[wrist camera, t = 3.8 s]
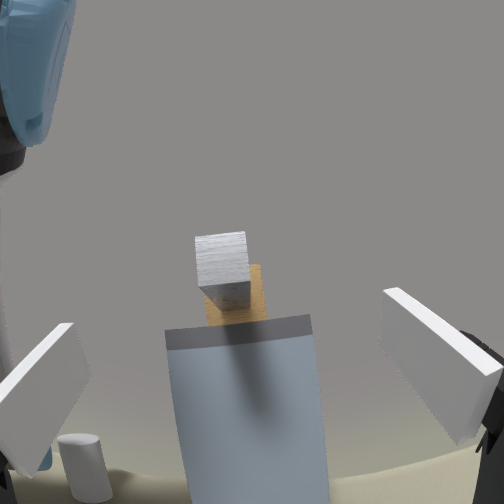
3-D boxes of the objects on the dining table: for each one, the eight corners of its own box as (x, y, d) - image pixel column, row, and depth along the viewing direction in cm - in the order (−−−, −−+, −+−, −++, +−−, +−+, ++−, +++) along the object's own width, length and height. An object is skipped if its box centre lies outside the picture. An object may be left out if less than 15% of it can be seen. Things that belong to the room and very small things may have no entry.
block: (280, 303, 17) (266, 206, 19) (175, 314, 17) (170, 217, 19) (263, 326, 40) (257, 282, 42) (218, 331, 40) (213, 287, 42)
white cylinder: (109, 485, 41) (96, 432, 45) (116, 501, 35) (101, 443, 38) (71, 487, 37) (57, 433, 40) (73, 504, 30) (56, 445, 34)
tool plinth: (331, 554, 20) (309, 314, 29) (210, 567, 20) (164, 330, 28) (309, 500, 35) (289, 324, 44) (221, 510, 35) (194, 335, 43)
